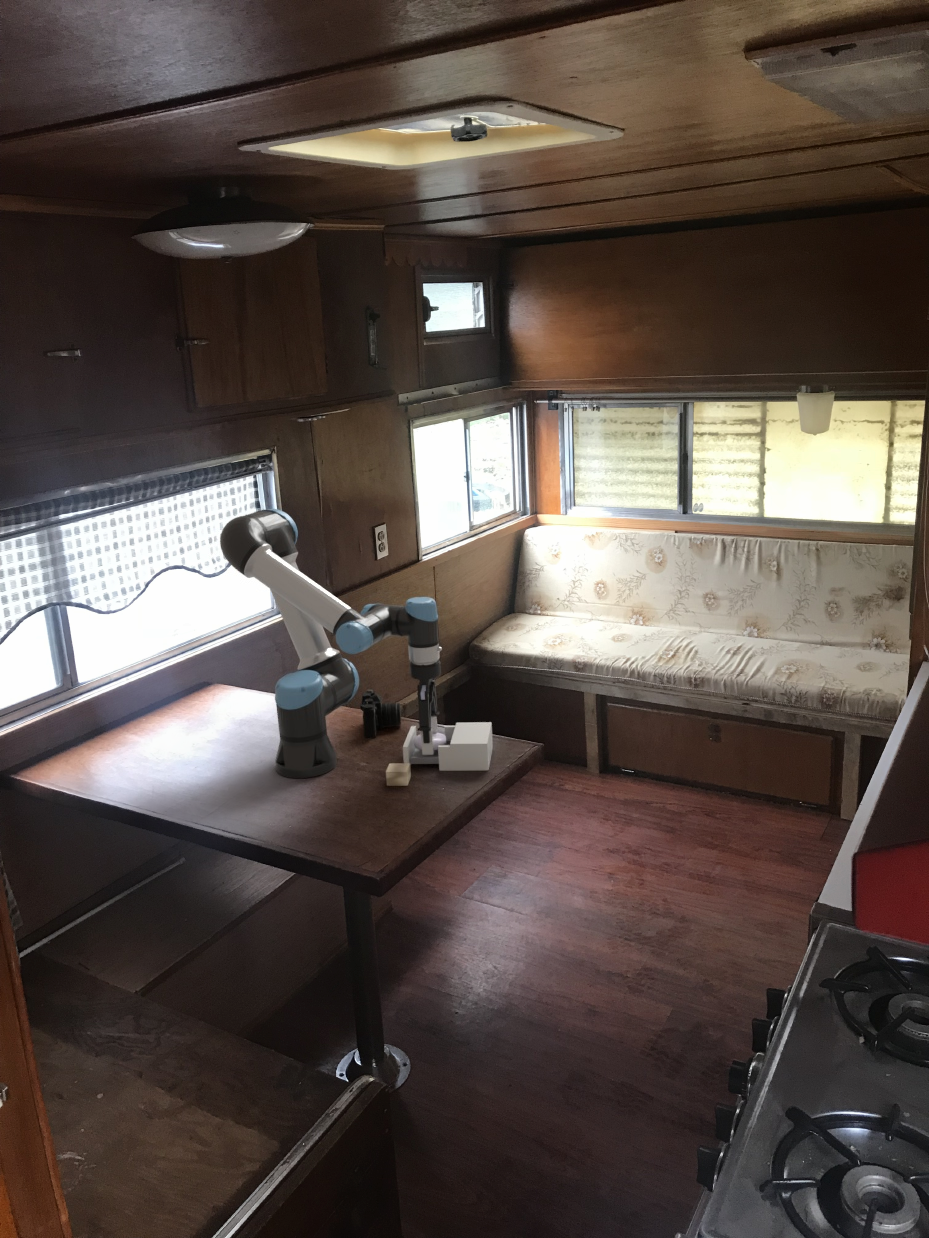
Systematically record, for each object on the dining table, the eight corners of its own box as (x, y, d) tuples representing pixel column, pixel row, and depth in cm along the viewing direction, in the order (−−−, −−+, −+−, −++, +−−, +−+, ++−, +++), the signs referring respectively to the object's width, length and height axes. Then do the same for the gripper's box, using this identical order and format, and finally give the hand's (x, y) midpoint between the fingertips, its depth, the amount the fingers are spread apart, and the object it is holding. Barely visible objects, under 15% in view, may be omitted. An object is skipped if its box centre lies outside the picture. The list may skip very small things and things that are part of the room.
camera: (400, 737, 264) (398, 702, 261) (360, 739, 263) (357, 704, 261) (402, 718, 277) (400, 684, 274) (364, 720, 277) (361, 686, 274)
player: (439, 770, 241) (437, 743, 239) (446, 748, 254) (444, 722, 253) (488, 770, 240) (487, 743, 238) (492, 747, 253) (491, 722, 251)
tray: (401, 769, 242) (400, 747, 241) (410, 747, 255) (409, 726, 254) (452, 769, 241) (450, 746, 239) (458, 747, 254) (456, 725, 252)
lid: (444, 750, 243) (444, 744, 242) (412, 750, 244) (411, 744, 243) (448, 738, 250) (447, 732, 250) (417, 738, 251) (416, 732, 251)
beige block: (386, 785, 234) (385, 771, 233) (390, 776, 239) (389, 763, 238) (407, 785, 234) (406, 771, 233) (410, 776, 238) (410, 763, 238)
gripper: (434, 673, 231) (440, 763, 237) (445, 647, 251) (449, 731, 257) (402, 674, 232) (409, 764, 238) (415, 648, 252) (421, 731, 258)
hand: (430, 747), depth 247 cm, fingers closed on lid, 8 cm apart
